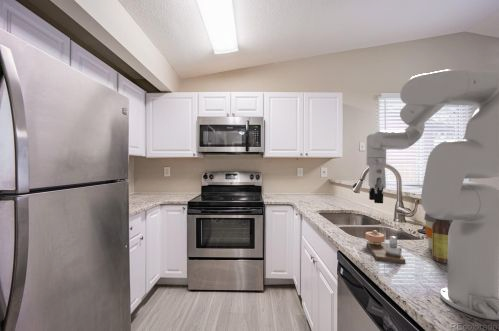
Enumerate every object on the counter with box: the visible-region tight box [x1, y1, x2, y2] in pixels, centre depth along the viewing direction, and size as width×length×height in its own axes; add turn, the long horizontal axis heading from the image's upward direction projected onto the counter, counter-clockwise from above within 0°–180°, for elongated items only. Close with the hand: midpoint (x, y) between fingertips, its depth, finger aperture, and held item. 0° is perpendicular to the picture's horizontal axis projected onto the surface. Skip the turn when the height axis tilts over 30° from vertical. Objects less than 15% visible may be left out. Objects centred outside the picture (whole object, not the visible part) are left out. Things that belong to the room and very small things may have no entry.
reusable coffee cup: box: [423, 212, 453, 250], centre depth 99 cm, size 13×13×15 cm
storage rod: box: [386, 235, 402, 258], centre depth 88 cm, size 5×5×7 cm
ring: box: [365, 231, 385, 243], centre depth 100 cm, size 7×7×2 cm
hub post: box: [369, 229, 383, 246], centre depth 100 cm, size 5×5×6 cm
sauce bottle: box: [431, 219, 451, 264], centre depth 87 cm, size 7×6×20 cm
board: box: [366, 240, 406, 264], centre depth 94 cm, size 18×10×2 cm, turn 163°
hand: (375, 201), depth 100 cm, fingers open, 9 cm apart
